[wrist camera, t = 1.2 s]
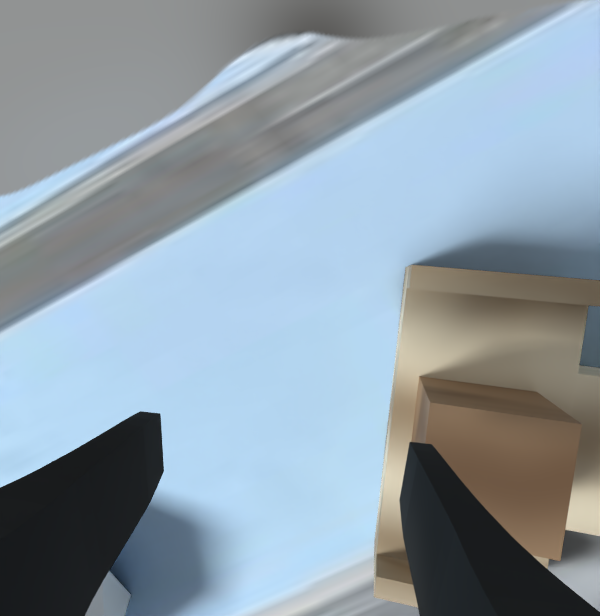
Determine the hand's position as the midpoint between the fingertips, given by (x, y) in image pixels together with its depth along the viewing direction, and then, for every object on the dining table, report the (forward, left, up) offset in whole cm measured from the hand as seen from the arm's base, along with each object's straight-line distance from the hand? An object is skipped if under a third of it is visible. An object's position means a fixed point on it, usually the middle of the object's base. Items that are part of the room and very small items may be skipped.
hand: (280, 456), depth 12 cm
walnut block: (-1, -7, -8) cm, 11 cm away
